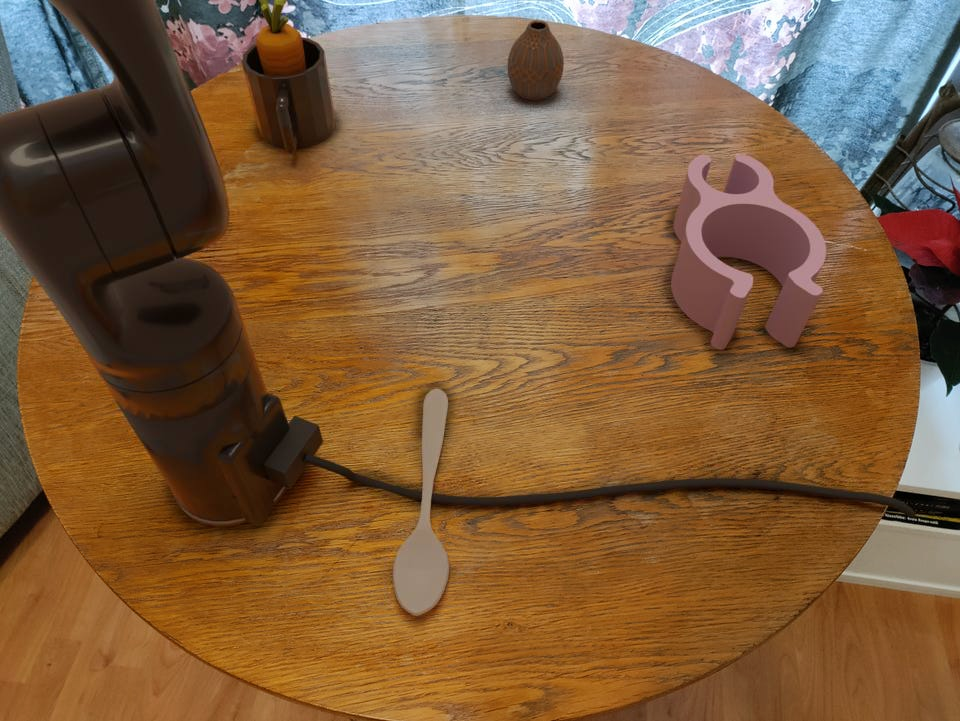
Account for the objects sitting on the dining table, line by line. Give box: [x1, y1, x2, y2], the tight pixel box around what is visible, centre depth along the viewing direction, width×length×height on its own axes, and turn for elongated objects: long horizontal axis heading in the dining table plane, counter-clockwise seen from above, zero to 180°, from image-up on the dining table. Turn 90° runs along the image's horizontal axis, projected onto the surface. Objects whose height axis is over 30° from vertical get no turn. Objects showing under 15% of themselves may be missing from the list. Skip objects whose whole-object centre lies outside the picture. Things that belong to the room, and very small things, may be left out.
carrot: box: [255, 0, 306, 76], centre depth 85 cm, size 5×5×15 cm
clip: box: [670, 153, 827, 351], centre depth 74 cm, size 20×12×7 cm, turn 3°
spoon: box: [392, 388, 450, 617], centre depth 60 cm, size 4×21×2 cm, turn 178°
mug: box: [241, 36, 336, 154], centre depth 87 cm, size 13×9×9 cm
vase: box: [507, 19, 565, 101], centre depth 94 cm, size 7×7×9 cm
